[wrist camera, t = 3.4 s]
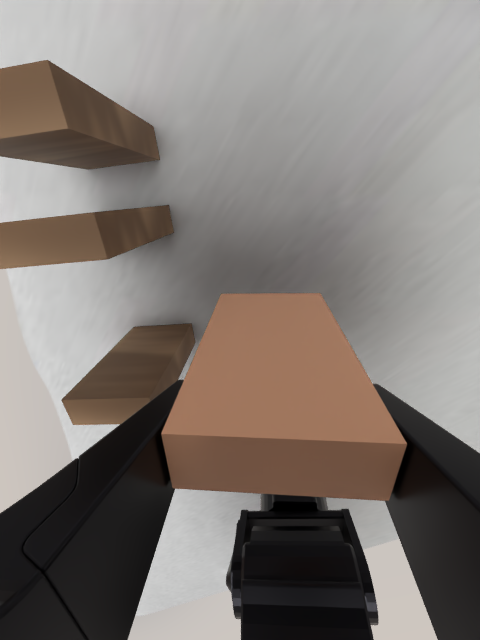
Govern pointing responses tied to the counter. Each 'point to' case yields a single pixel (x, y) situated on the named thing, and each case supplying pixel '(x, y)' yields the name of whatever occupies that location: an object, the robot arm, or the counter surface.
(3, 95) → the domino
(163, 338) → the domino
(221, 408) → the domino
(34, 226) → the domino
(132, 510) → the robot arm
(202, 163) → the counter surface
